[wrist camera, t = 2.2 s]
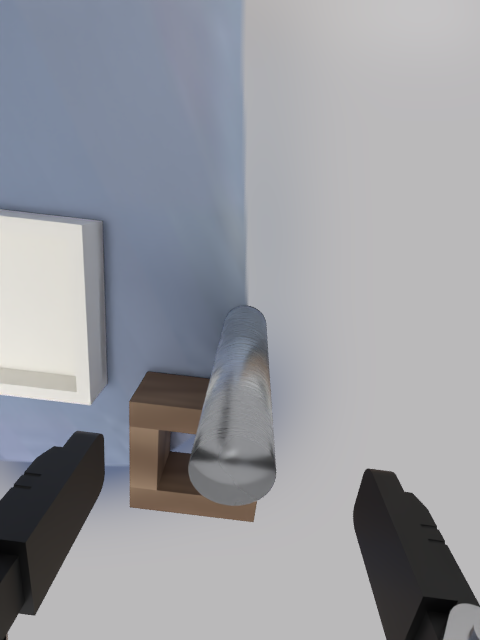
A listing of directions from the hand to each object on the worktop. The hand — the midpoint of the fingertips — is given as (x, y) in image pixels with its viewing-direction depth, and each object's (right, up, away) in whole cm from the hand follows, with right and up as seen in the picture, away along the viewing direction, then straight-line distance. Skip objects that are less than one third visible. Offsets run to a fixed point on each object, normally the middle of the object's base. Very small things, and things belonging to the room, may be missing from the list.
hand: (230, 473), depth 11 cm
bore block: (-2, -3, +14) cm, 14 cm away
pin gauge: (+1, +4, +11) cm, 12 cm away
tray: (-13, +6, +11) cm, 18 cm away
